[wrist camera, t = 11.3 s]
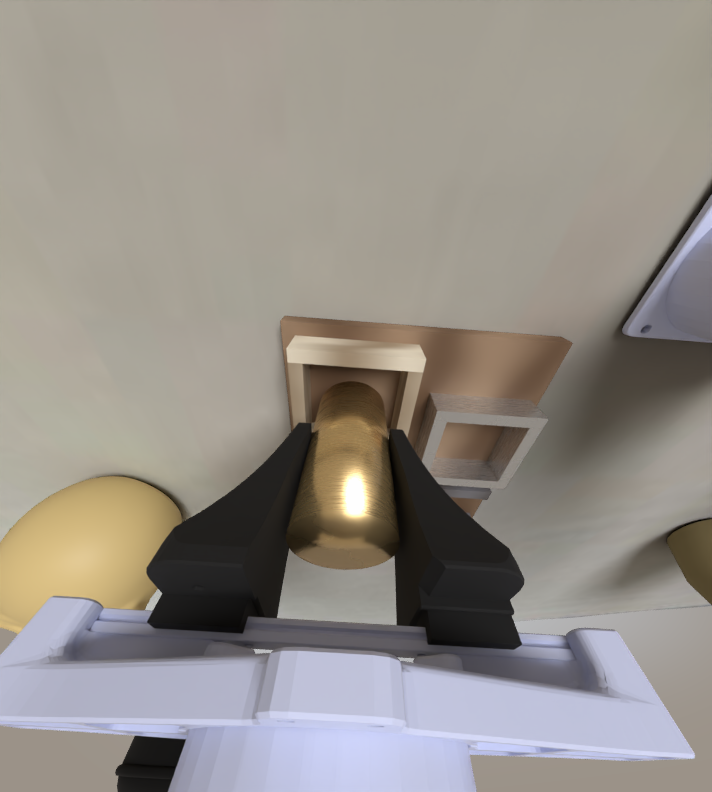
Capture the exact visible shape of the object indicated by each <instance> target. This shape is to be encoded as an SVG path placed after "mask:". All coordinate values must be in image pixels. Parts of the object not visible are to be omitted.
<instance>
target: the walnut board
mask: <svg viewBox="0 0 712 792" xmlns="http://www.w3.org/2000/svg"><path fill="white" fill-rule="evenodd" d="M280 323H281V333H282V343H283V353H284V363H285V372H286V382H287V392H288V402H289V412H290V422H291V432H292V431H293V429H294V426H293V415H292V404H291V394H290V383H289V372H288V362H287V351H286V348H287V347H288V345H289V344H290V342H291V341H292V339H293V338H294V336H295V335H297V336H310V337H323V338H336V339H350V340H363V341H376V342H390V343H403V344H416V345H420V347H421V349H422V351H423V353H424V355H425V357H426V363H425V367H424V371H423V375H422V379H421V383H420V387H419V392H418V396H417V400H416V404H415V408H414V412H413V416H412V420H411V424H410V429H409V433H408V437H407V438H408V440H409V442H410V444H411V445H412V447H413V449H414V450H415V446H416V442H417V439H418V435H419V431H420V428H421V424H422V421H423V417H424V413H425V410H426V406H427V402H428V399H429V395H430V393H438V394H452V395H466V396H479V397H493V398H507V399H521V400H531V401H532V402H533V403H534V404H535V405H536V406H537V404H538V403H539V401H540V399H541V397H542V396H543V394H544V392H545V390H546V389H547V387H548V385H549V384H550V382H551V380H552V378H553V377H554V375H555V373H556V371H557V370H558V368H559V366H560V364H561V363H562V361H563V359H564V357H565V356H566V354H567V352H568V351H569V349H570V347H571V345H572V344H573V343H572V342H570V341H568V340H566V339H564V338H563V337H555V336H542V335H529V334H516V333H503V332H490V331H477V330H463V329H450V328H437V327H424V326H411V325H398V324H384V323H371V322H358V321H345V320H332V319H319V318H305V317H292V316H284V317H283V319H282V320H281V321H280ZM400 374H401V371H396V370H383V369H369V368H355V367H342V366H328V365H315V364H310V382H311V408H312V423H315V421H316V417H317V413H318V409H319V405H320V401H321V398H322V396H323V394H324V393H325V392H326V391H327V390H328V389H329V388H330V387H332V386H333V385H336V384H338V383H341V382H346V381H356V382H361V383H364V384H367V385H369V386H371V387H372V388H374V389H375V390H376V391H377V392H378V393H379V394H380V396H381V397H382V399H383V402H384V408H385V417H386V426H387V428H390V427H391V422H392V417H393V411H394V406H395V401H396V395H397V390H398V385H399V379H400ZM504 427H505V426H495V425H481V424H467V423H453V422H447V423H446V426H445V429H444V432H443V435H442V438H441V441H440V444H439V447H438V449H437V452H436V455H435V457H440V458H454V459H468V460H482V461H487V460H488V458H489V456H490V454H491V452H492V450H493V448H494V446H495V445H496V443H497V441H498V439H499V437H500V435H501V433H502V431H503V429H504ZM440 486H441V487H442V488H443V490H444V491H445V492H446V493H447V494H448V495H449V496H450V497H451V498H452V500H453V501H454V502H455V503H456V504H457V505H458V506H459V507H460V508H462V509H463V510H464V511H465V512H466V513H467V514H468V515H469V516H470V517H471V518H472V517H473V516H474V514H475V512H476V510H477V509H478V507H479V505H480V503H481V502H482V500H483V499H485V500H487V499H488V498H489V496H490V494H491V493H492V492H491V490H490V488H480V487H466V486H451V485H440Z"/></svg>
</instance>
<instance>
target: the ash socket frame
mask: <svg viewBox="0 0 712 792" xmlns="http://www.w3.org/2000/svg"><path fill="white" fill-rule="evenodd" d="M286 351H287V362H288V372H289V383H290V394H291V404H292V415H293V426H294V428H295V427H296V425H297V424H298V423H299V422H300V423H311V429H312V432H313V428H314V424H315V423H312V408H311V382H310V364H315V365H328V366H342V367H355V368H369V369H383V370H396V371H401V374H400V379H399V385H398V390H397V395H396V401H395V406H394V411H393V417H392V422H391V427H390V428H387V434H388V439H389V434H390V429H400V430H403V431H404V433H405V435H406V436H407V437H408V433H409V429H410V424H411V420H412V416H413V412H414V408H415V404H416V400H417V396H418V392H419V387H420V383H421V379H422V375H423V371H424V367H425V363H426V357H425V355H424V353H423V351H422V349H421V347H420V345H416V344H403V343H390V342H376V341H363V340H350V339H336V338H323V337H310V336H297V335H295V336H294V338H293V339H292V341H291V342H290V344H289V345H288V347H287V348H286Z"/></svg>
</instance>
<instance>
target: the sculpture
mask: <svg viewBox="0 0 712 792" xmlns="http://www.w3.org/2000/svg"><path fill="white" fill-rule="evenodd" d="M181 523H182V517H181V513H180V511H179V509H178V508H177V506H176V505H175V504H174V502H173V501H172V500H171V499H170V498H169V497H167V496H166V495H165V494H164V493H162V492H161V491H159V490H157V489H156V488H154V487H152V486H150V485H148V484H146V483H143V482H141V481H138V480H135V479H131V478H127V477H119V476H107V477H98V478H92V479H88V480H85V481H82V482H79V483H76V484H73V485H71V486H69V487H66V488H64V489H62V490H60V491H58V492H56V493H54V494H53V495H51V496H49V497H48V498H46V499H44V500H43V501H41V502H40V503H39V504H37V505H36V506H34V507H33V508H32V509H31V510H29V511H28V512H27V513H26V514H25V515H24V516H23V517H21V518H20V519H19V520H18V521H17V522H16V524H15V525H14V526H13V527H12V528H11V529H10V530H9V531H8V533H7V534H6V535H5V537H4V538H3V539H2V541H1V542H0V628H4V629H7V630H10V631H13V632H15V633H17V634H19V633H20V632H21V631H22V629H23V628H24V627H25V626H26V625H27V624H28V622H29V621H30V620H31V619H32V618H33V617H34V615H35V614H36V613H37V612H38V611H39V610H40V608H41V607H42V606H43V605H44V604H45V603H46V601H47V600H48V599H49V598H50V597H52V596H69V597H84V598H90V599H93V600H96V601H98V602H99V603H101V604H102V605H103V608H115V609H132V610H145V608H146V606H147V604H148V602H149V600H150V598H151V597H152V596H153V594H154V593H155V592H156V590H157V589H158V588H157V587H156V586H155V585H154V583H153V582H152V581H151V580H150V579H149V577H148V576H147V573H146V569H147V566H148V565H149V563H150V562H151V560H152V559H153V557H154V555H155V554H156V552H157V551H158V549H159V548H160V546H161V545H162V543H163V542H164V540H165V539H166V537H167V536H168V535H169V534H170V532H171V531H172V530H173V528H174V527H176V526H177V525H179V524H181Z"/></svg>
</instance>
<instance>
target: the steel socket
mask: <svg viewBox="0 0 712 792" xmlns="http://www.w3.org/2000/svg"><path fill="white" fill-rule="evenodd" d="M548 420H549V418H548V417H547V416H546V415H545V414H544V413H543V412H542V411H541V410H540V409H539V408H538V407H537V406H536V405H535V404H534V403H533V402H532V401H531V400H521V399H507V398H493V397H479V396H466V395H452V394H438V393H430V395H429V399H428V402H427V406H426V410H425V413H424V417H423V421H422V424H421V428H420V431H419V435H418V439H417V442H416V446H415V452H416V453H417V455H418V456H419V458H420V459H421V461H422V462H423V464H424V465H425V467H426V468H427V470H428V471H429V472H430V474H431V475H432V476H433V478H434V479H435V480H436V481H437V483H438V484H439V485H451V486H466V487H480V488H495V489H505V488H506V486H507V485H508V483H509V481H510V480H511V478H512V477H513V475H514V473H515V472H516V470H517V469H518V467H519V466H520V464H521V462H522V461H523V459H524V458H525V456H526V454H527V453H528V451H529V450H530V448H531V447H532V445H533V443H534V442H535V440H536V439H537V437H538V435H539V434H540V432H541V431H542V429H543V428H544V426H545V424H546V423H547V421H548ZM447 422H453V423H467V424H481V425H495V426H505V427H504V429H503V431H502V433H501V435H500V437H499V439H498V441H497V443H496V445H495V446H494V448H493V450H492V452H491V454H490V456H489V458H488V460H487V461H482V460H468V459H454V458H440V457H435V455H436V452H437V449H438V447H439V444H440V441H441V438H442V435H443V432H444V429H445V426H446V423H447Z"/></svg>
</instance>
